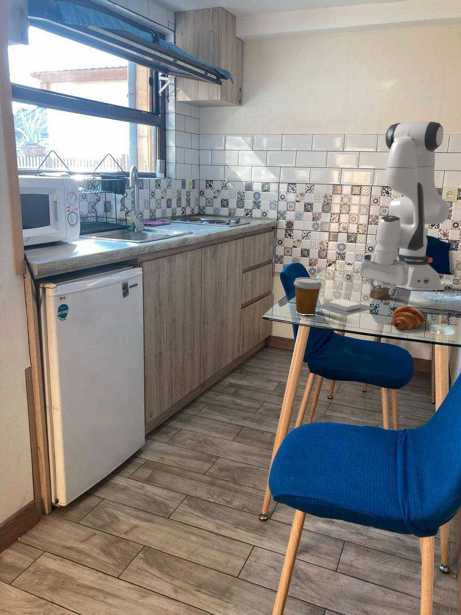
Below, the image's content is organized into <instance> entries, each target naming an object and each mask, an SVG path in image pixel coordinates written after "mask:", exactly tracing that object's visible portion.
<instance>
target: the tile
mask: <svg viewBox="0 0 461 615" xmlns="http://www.w3.org/2000/svg"><path fill="white" fill-rule="evenodd" d="M328 303H329V306H330V307H334V308H337V309H341V310H344V311H349V310H354V309H358V308H360V304H361V303H360V302H356V301H351V300H348V299H344V298H340V299H336V300H335V299H334V300H331V301H328Z"/></svg>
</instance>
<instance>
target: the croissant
mask: <svg viewBox="0 0 461 615" xmlns="http://www.w3.org/2000/svg"><path fill="white" fill-rule="evenodd" d="M425 320H426V318H425V316H424V314H423V313H422V312H421V311H420V310H419V309H418V308H416V307H413V306H410V305H403V306H398V307H397V308H396V309H395V310H394V311H393V314H392V326H393V327H395V328H396V329H402V330H410V329H416V328H417V327H420V326H422V325H423V324H424V323H425Z"/></svg>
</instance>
